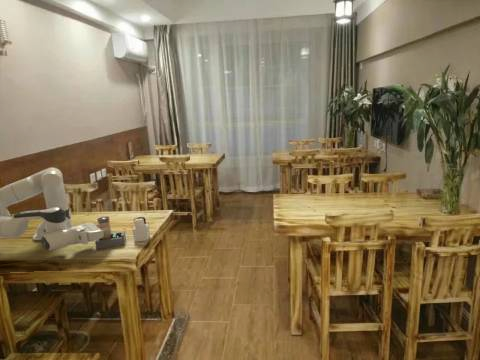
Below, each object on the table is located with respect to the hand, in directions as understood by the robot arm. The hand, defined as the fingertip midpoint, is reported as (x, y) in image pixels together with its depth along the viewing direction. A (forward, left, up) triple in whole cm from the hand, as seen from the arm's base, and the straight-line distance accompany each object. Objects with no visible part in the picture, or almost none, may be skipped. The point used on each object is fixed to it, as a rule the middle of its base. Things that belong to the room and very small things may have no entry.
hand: (106, 226), depth 185 cm
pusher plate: (+4, 0, -8) cm, 9 cm away
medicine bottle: (+17, 0, -10) cm, 20 cm away
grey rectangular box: (+1, 0, -10) cm, 10 cm away
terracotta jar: (-1, 0, -7) cm, 7 cm away
